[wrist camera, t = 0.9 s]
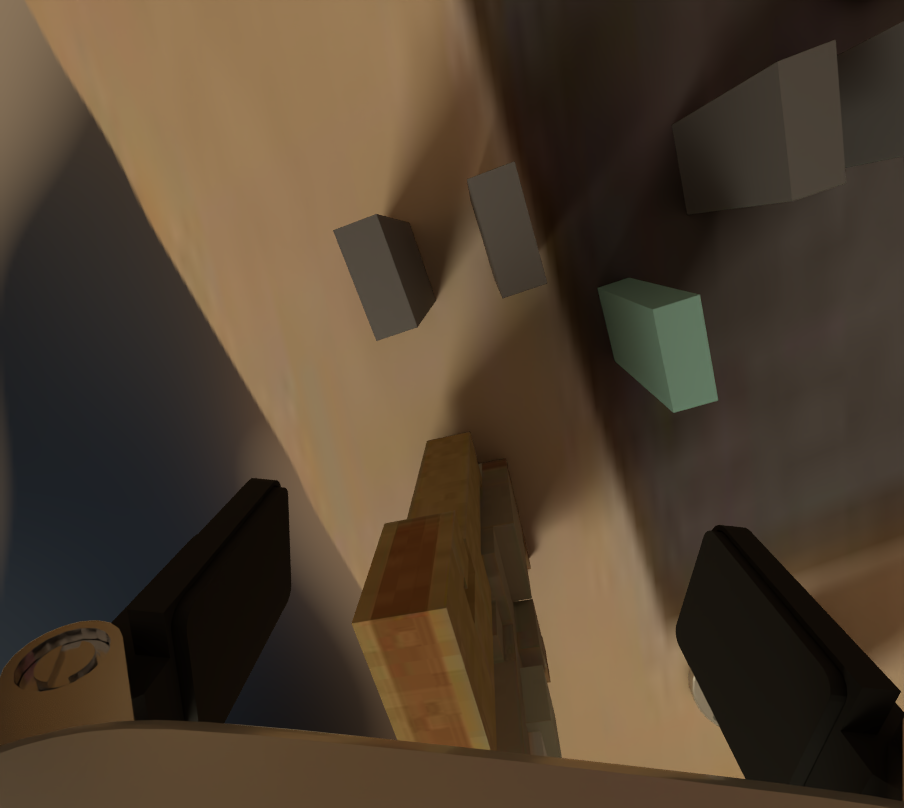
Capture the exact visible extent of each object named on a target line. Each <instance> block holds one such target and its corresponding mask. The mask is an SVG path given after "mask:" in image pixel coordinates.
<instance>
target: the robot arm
mask: <svg viewBox="0 0 904 808" xmlns="http://www.w3.org/2000/svg"><path fill="white" fill-rule="evenodd" d="M288 509H289V508H288V491H287V489H286V488H282V487H281V486H280V483H279V482H278V481H277V480H267V479H257V478H251V479H250V480H249V481H248V482H247V483H246V484H245V485H244V486H243V487H242V488H241V489H240V490H239V491H238V492H237V493H236V495H235V496H234V497H233V498H232V499H231V500H230V501H229V502H228V503H227V504H226V505H225V506H224V507H223V508H222V509H221V510H220V512H219V513H218V514H217V515H216V516H215V517H214V518H213V519H212V520H211V521H210V522H209V523H208V524H207V525H206V526H205V527H204V528H203V529H202V530H201V531H200V533H199V534H197V535H196V536H194V537H193V538H192V539H191V540H190V541H189V542H188V543H187V544H186V545H185V546H184V547H183V548H182V549H181V550H180V551H179V553H177V555H176V556H175V557H174V558H173V559H172V560H171V561H170V562H169V563H168V564H167V565H166V566H165V567H164V568H163V569H162V570H161V571H160V572H159V573H158V574H157V576H156V577H155V578H154V579H153V580H152V581H151V582H150V583H149V584H148V585H147V586H146V587H145V588H144V589H143V590H142V591H141V592H140V593H139V594H138V595H137V596H136V597H135V599H134V600H133V601H132V602H131V603H130V604H129V605H128V606H127V607H126V608H125V609H124V610H123V611H122V612H121V613H120V614H119V615H118V616H117V618H115V620H114V621H113V622H112V623H108V622H104V621H97V620H96V621H81V622H77V623H73V624H69V625H65V626H62V627H60V628H58V629H55V630H53V631H51V632H48V633H46V634H44V635H42V636H41V637H39V638H37V639H35V640H34V641H32V642H30V643H29V644H27V645H26V646H25V647H24V648H23V649H21V650H20V651H19V652H17V653H16V654H15V655H14V656H13V657H12V659H11V660H10V661H9V662H8V663H7V665H6V666H5V667H4V668H3V671H2V674H1V676H0V808H904V712H903V711H902V709H901V708H900V707H899V706H898V705H897V704H896V703H895V702H896V700H897V698H898V696H899V694H900V692H901V691H900V690H899V689H898V688H897V687H896V686H895V685H894V684H893V682H892V681H891V680H890V679H889V678H888V677H887V676H886V675H885V674H884V673H883V672H882V671H881V670H880V669H879V668H878V667H877V665H876V664H875V663H874V662H873V661H872V660H871V659H870V658H869V657H868V656H867V655H866V654H865V653H864V652H863V651H862V649H861V648H860V647H859V646H858V645H857V644H856V643H855V642H854V641H853V640H852V639H851V638H850V637H849V636H848V635H847V634H846V632H845V631H844V630H843V629H842V628H841V627H840V626H839V625H838V624H837V623H836V622H835V621H834V620H833V619H832V618H831V617H830V615H829V614H828V613H827V612H826V611H825V610H824V609H823V608H822V607H821V606H820V605H819V604H818V603H817V602H816V601H815V599H814V598H813V597H812V596H811V595H810V594H809V593H808V592H807V591H806V590H805V589H804V588H803V587H802V586H801V585H800V584H799V582H798V581H797V580H796V579H795V578H794V577H793V576H792V575H791V574H790V573H789V572H788V571H787V570H786V569H785V568H784V567H783V565H782V564H781V563H780V562H779V561H778V560H777V559H776V558H775V557H774V556H773V555H772V554H771V553H770V552H769V551H768V549H767V548H766V547H765V546H764V545H763V544H762V543H761V542H760V541H759V540H758V539H757V538H756V537H755V536H754V535H753V534H752V532H751V531H750V530H748V529H747V528H743V527H734V526H724V525H717V526H715V527H714V528H713V530H712V531H707V532H706V533H705V535H704V538H703V541H702V544H701V547H700V550H699V554H698V557H697V560H696V563H695V567H694V570H693V573H692V576H691V579H690V583H689V586H688V589H687V592H686V596H685V599H684V602H683V605H682V608H681V612H680V615H679V618H678V621H677V625H676V638H677V642H678V644H679V646H680V648H681V651H682V653H683V655H684V657H685V659H686V661H687V663H688V665H689V667H690V669H689V675H688V680H689V688H690V691H691V693H692V696H693V698H694V700H695V702H696V704H697V706H698V708H699V709H700V711H701V712H702V713H703V714H704V715H705V717H706V718H707V719H708V720H710V721H711V722H713V723H714V724H715V725H717V726H719V727H720V729H721V731H722V733H723V735H724V737H725V739H726V741H727V743H728V745H729V747H730V749H731V751H732V753H733V755H734V757H735V759H736V761H737V763H738V765H739V767H740V769H741V771H742V773H743V775H744V777H745V779H740V778H731V777H723V776H714V775H706V774H697V773H688V772H680V771H671V770H663V769H654V768H646V767H637V766H628V765H620V764H611V763H602V762H593V761H584V760H575V759H566V758H557V757H548V756H539V755H530V754H521V753H512V752H503V751H493V750H484V749H475V748H466V747H457V746H448V745H438V744H429V743H419V742H410V741H400V740H390V739H381V738H371V737H362V736H361V737H360V736H352V735H342V734H332V733H323V732H313V731H304V730H293V729H281V728H270V727H258V726H247V725H246V726H245V725H235V724H224V722H225V720H226V719H227V717H228V715H229V713H230V711H231V709H232V707H233V705H234V703H235V701H236V699H237V698H238V696H239V694H240V692H241V690H242V688H243V686H244V684H245V682H246V680H247V678H248V676H249V675H250V673H251V671H252V669H253V667H254V665H255V663H256V661H257V659H258V657H259V655H260V653H261V652H262V650H263V648H264V646H265V644H266V642H267V640H268V638H269V636H270V634H271V632H272V630H273V629H274V627H275V625H276V623H277V621H278V619H279V617H280V615H281V613H282V611H283V609H284V608H285V606H286V604H287V602H288V599H289V596H290V591H291V567H290V538H289V510H288Z"/></svg>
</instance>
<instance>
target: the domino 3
mask: <svg viewBox="0 0 904 808" xmlns="http://www.w3.org/2000/svg"><path fill="white" fill-rule="evenodd" d="M597 289H598V293H599V297H600V301H601V305H602V310H603V314H604V318H605V322H606V327H607V331H608V335H609V339H610V343H611V348H612V352H613V356H614V360H615V362H616V363H617V364H619V365H620V366H621V367H622V368H623V369H624V370H625V371H627V372H628V373H629V374H630V375H631V376H632V377H633V378H635V379H636V380H637V381H638V382H639V383H640V384H641V385H643V386H644V387H645V388H646V389H647V390H648V391H649V392H651V393H652V394H653V395H654V396H655V397H656V398H657V399H659V400H660V401H661V402H662V403H663V404H664V405H665V406H667V407H668V408H669V409H670V410H671V411H672V412H673V413H675V412H678V411H682V410H686V409H689V408H693V407H696V406H700V405H703V404H707V403H711V402H714V401H718V397H717V391H716V385H715V379H714V374H713V368H712V362H711V356H710V350H709V345H708V339H707V333H706V327H705V321H704V316H703V310H702V304H701V298H700V295H699V294H695V293H691V292H687V291H683V290H678V289H674V288H670V287H666V286H662V285H658V284H654V283H649V282H645V281H641V280H637V279H633V278H626V279H623V280H620V281H617V282H614V283H611V284H608V285H605V286H602V287H599V288H597Z"/></svg>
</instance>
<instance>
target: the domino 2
mask: <svg viewBox="0 0 904 808" xmlns="http://www.w3.org/2000/svg"><path fill="white" fill-rule="evenodd" d="M467 182H468V188H469V194H470V199H471V203H472V206H473V210H474V213H475V216H476V220H477V223H478V226H479V229H480V233H481V236H482V239H483V243H484V246H485V249H486V253H487V256H488V259H489V263H490V266H491V269H492V273H493V276H494V279H495V282H496V284H497V286H498V289H499V291H500V293H501V296H502V298H505V297H508V296H511V295H514V294H517V293H520V292H523V291H526V290H529V289H532V288H535V287H538V286H541V285H544V284H547V280H546V276H545V273H544V269H543V265H542V262H541V258H540V254H539V250H538V247H537V243H536V239H535V236H534V232H533V228H532V224H531V221H530V217H529V213H528V209H527V206H526V202H525V198H524V195H523V191H522V187H521V183H520V180H519V176H518V172H517V169H516V165H515V161H514V162H511V163H509V164H506V165H503V166H501V167H498V168H496V169H493V170H490V171H488V172H485V173H482V174H480V175H477V176H475V177H472V178H469V179H467Z"/></svg>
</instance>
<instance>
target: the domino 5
mask: <svg viewBox="0 0 904 808" xmlns="http://www.w3.org/2000/svg"><path fill="white" fill-rule="evenodd" d="M837 64H838V78H839V91H840V105H841V119H842V132H843V146H844V160H845V168H848V167H853V166H858V165H863V164H868V163H873V162H878V161H883V160H888V159H893V158H898V157H903V156H904V21H903V22H901V23H899V24H897V25H895V26H893V27H891V28H889V29H887V30H886V31H884V32H882V33H880V34H878V35H876V36H874V37H872V38H870V39H868V40H866V41H864V42H862V43H860V44H858V45H857V46H855V47H853V48H851V49H849V50H847V51H845V52H843V53H841V54H839V55H837Z"/></svg>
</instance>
